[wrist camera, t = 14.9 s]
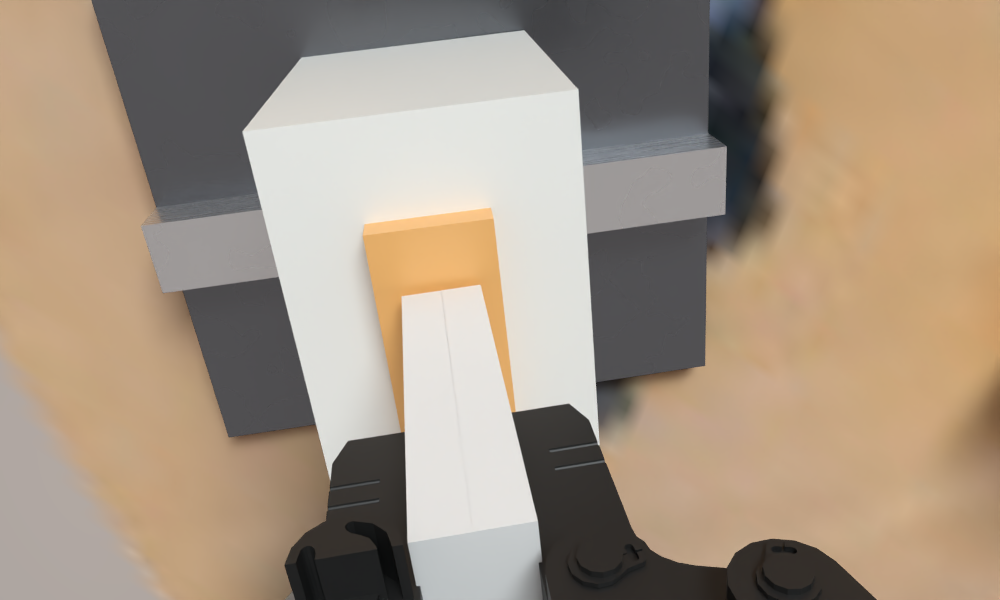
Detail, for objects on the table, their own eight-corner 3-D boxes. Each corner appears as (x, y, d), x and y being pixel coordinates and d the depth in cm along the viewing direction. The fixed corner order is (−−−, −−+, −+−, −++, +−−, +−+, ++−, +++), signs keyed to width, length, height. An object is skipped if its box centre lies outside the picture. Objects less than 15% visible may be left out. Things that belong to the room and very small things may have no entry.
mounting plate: (698, -94, 22) (732, -95, 19) (695, 350, 28) (720, 389, 26) (99, -23, 21) (62, -15, 18) (234, 420, 27) (219, 465, 25)
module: (524, 29, 21) (584, 96, 14) (549, 323, 25) (607, 502, 18) (301, 57, 21) (235, 140, 13) (362, 348, 25) (338, 541, 17)
